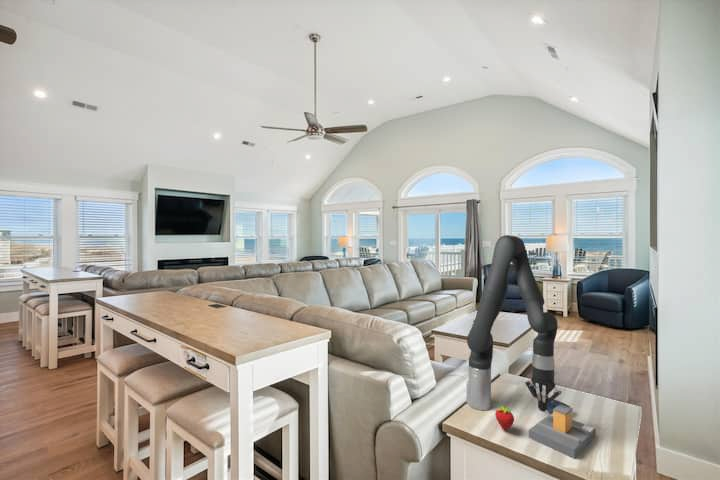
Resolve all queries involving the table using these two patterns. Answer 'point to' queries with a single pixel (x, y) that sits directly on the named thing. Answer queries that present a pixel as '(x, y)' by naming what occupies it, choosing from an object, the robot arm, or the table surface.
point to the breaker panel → (563, 436)
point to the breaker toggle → (562, 418)
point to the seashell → (554, 405)
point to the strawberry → (504, 418)
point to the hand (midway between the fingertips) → (542, 410)
